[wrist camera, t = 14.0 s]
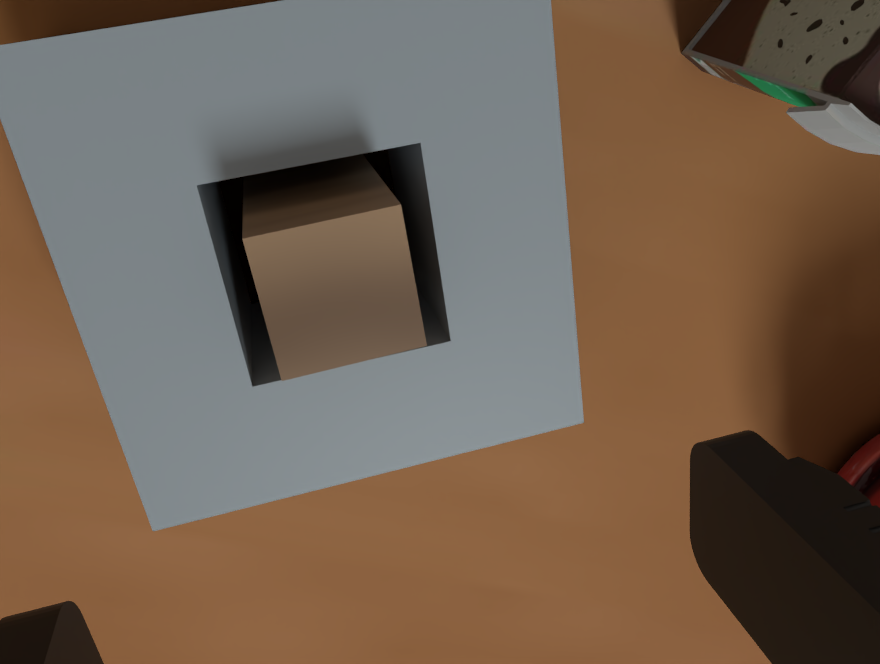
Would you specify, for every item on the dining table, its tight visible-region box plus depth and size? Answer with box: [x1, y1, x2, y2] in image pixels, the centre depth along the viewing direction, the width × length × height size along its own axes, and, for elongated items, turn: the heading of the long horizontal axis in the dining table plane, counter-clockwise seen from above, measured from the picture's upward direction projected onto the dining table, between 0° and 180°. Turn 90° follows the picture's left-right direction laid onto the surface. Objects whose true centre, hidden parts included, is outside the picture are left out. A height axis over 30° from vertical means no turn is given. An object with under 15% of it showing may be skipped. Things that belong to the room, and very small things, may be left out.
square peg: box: [242, 154, 427, 381], centre depth 24 cm, size 4×4×9 cm
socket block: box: [0, 0, 584, 531], centre depth 25 cm, size 14×14×7 cm
